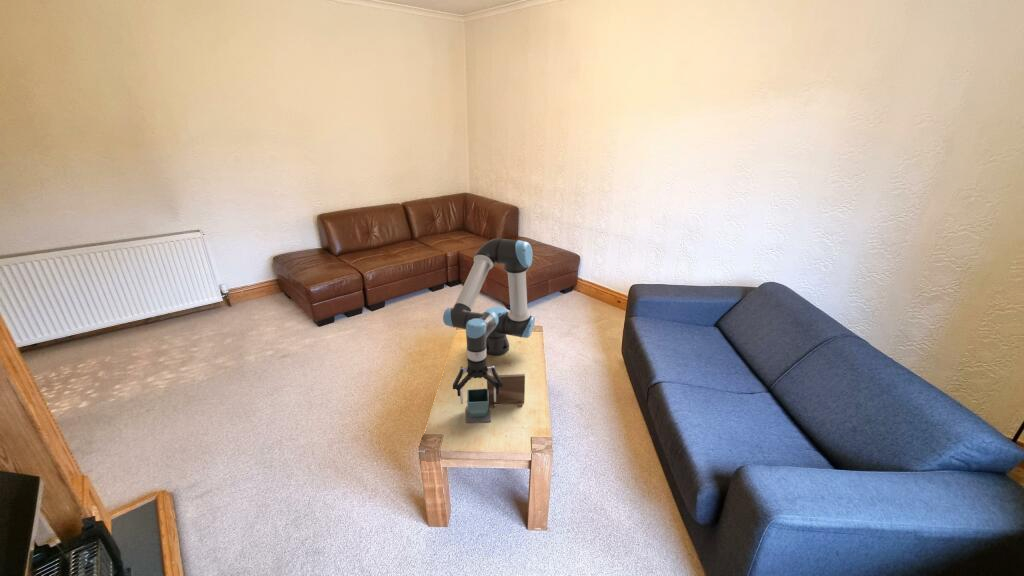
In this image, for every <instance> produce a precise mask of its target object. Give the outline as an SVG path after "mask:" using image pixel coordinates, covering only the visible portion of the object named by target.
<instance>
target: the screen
mask: <svg viewBox="0 0 1024 576" xmlns="http://www.w3.org/2000/svg"><path fill="white" fill-rule="evenodd" d="M498 375H499V377H500V378H501V380H502V382H503V387H499V393H498V394H496V402H494V386H493V385H492V384H491V383H490V382H489V381H488V380H487V379H486V389H488V395H489V405H490V409H495V408H496V407H495V405H512V404H513V405H516V404H517V407H518V408H522V407H523V404H524V403H525V390H526V388H525V387H526V382H525V381H526V375H525V374H524V373H517V374H516V373H514V374H498ZM490 376H491V377H492V378H493V379H494V380H495V381H496V382H497V380H496V379H495V377H494V376H493V374H492V375H490Z"/></svg>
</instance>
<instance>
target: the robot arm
mask: <svg viewBox="0 0 1024 576" xmlns="http://www.w3.org/2000/svg"><path fill="white" fill-rule="evenodd" d="M533 255H534V254H533V248H532V245H531V244H530V243H529V242H527V241H524V240H520V239H518V240H515V239H507V238H493V239H490V240H488V241H486V242H485V243H484V244H483V245H481V247H480V248H479V249H478V250H477V252H476V253H475V255H474V257H473V265H472V267H471V269H470V271H469V273H468V275H467V278H466V280H465V281H464V284H463V286H462V288H461V291H459V294H458V297H457V299H456V302H455V304H454V305H453V307H448V308H446V309H445V310H444V312H443V316H442V321H443V324H444V325H445V326H446V327H447V326H448V327H451V328H457V329H464V330H465V335H466V337H465V338H466V355H467V356H466V357H467V359H466V361H467V367H463V366H460V367H459V372H458V374H457V375H456V378H455V380H454V382H453V383H452V390H456V391H457V396H458V397H459V398H460V404H461V405H463V404H464V397H463V395H464V393H463V387H464V386H465V385H466V384H467V383H468V382H469V381H470V380H472V379H482V378H484V380H486V381H487V380H488V381H489V382H490V383H491V384H492V385H493V386H494V402H496V394H498V393H499V387H503V382H502V380H501V378H500V377H499V375H500V374H499V373H498V371H496V367H495V365H494V364H491V366H488V365H487V364H488V363H487V362H488V361H487V355H489V356H501V355H505V354H506V353H508V352H509V350H510V343H509V340H508V336H513V337H518V338H525V339H527V338H530V337H531V335H532V333H533V330H534V327H535V322H536V321H535V320H536V318H535V316H533V315H532V313H531V311H530V309H529V308H528V292H527V291H528V289H527V271H528V270H529V268H530V267H531V266H532V264H533ZM496 264H499V265H503V269H504V271H505V272H506V273H507V281H508V283H507V284H508V295H509V296H508V297H509V305H510V306H509V308H510V310H509V311H507V308H506V307H504V306H493V307H490V308H488V309H486V310H484V312H482V313H480V312H474V311H472V310H473V308H474V305H475V303H476V300H477V299H478V296H479V294H480V292H481V289H482V288H483V285H484V283H485V280H486V278H487V276H488V275H489V271H490V270H491V269H492V268H493V267H494V266H495V265H496ZM507 335H508V336H507ZM507 351H508V352H507ZM488 371H489V372H490V373H491V374H492V375H493V376H494V377H495V379H496V380H497V382H496V381H495V380H494V379H493V378H492V377H491V375H490V374H489V373H488ZM466 372H467V374H466V375H465V376H464V378H463V375H464V374H465V373H466Z"/></svg>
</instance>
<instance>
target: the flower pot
mask: <svg viewBox="0 0 1024 576" xmlns="http://www.w3.org/2000/svg"><path fill="white" fill-rule="evenodd" d="M466 405H467V406H468V411H469V413H470V415H471V416H472V417H482V416H485V415H486V414H487V411H488V405H489V395H488V389H487V388H475V389H473V388H472V389H467V390H466Z"/></svg>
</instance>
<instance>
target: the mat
mask: <svg viewBox="0 0 1024 576" xmlns="http://www.w3.org/2000/svg"><path fill="white" fill-rule="evenodd" d="M465 407H466V408H465V409H466V410H465V411H466V413H465V414H466V416H465V417H466V418H465V421H466V422H465V423H466V424H475V423H476V424H479V423H480V424H481V423H491V422H492V418H491V417H492V414H491V408H490V405H488V411H487V414H486V415H485V416H482V417H472V416H471V415H470V413H469V411H468V405H467V406H465Z"/></svg>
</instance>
